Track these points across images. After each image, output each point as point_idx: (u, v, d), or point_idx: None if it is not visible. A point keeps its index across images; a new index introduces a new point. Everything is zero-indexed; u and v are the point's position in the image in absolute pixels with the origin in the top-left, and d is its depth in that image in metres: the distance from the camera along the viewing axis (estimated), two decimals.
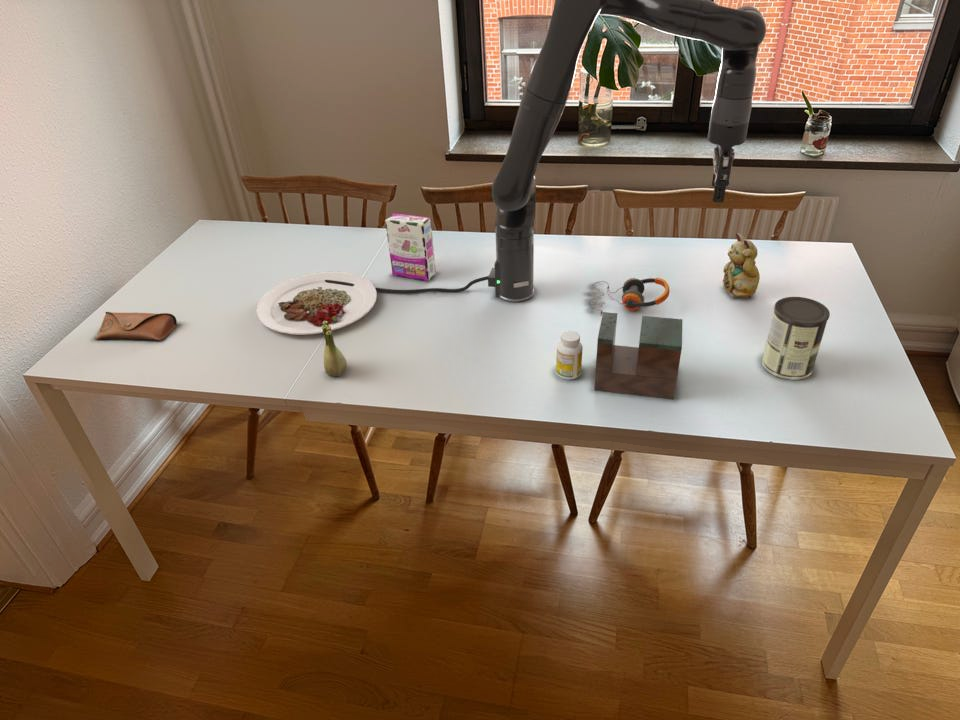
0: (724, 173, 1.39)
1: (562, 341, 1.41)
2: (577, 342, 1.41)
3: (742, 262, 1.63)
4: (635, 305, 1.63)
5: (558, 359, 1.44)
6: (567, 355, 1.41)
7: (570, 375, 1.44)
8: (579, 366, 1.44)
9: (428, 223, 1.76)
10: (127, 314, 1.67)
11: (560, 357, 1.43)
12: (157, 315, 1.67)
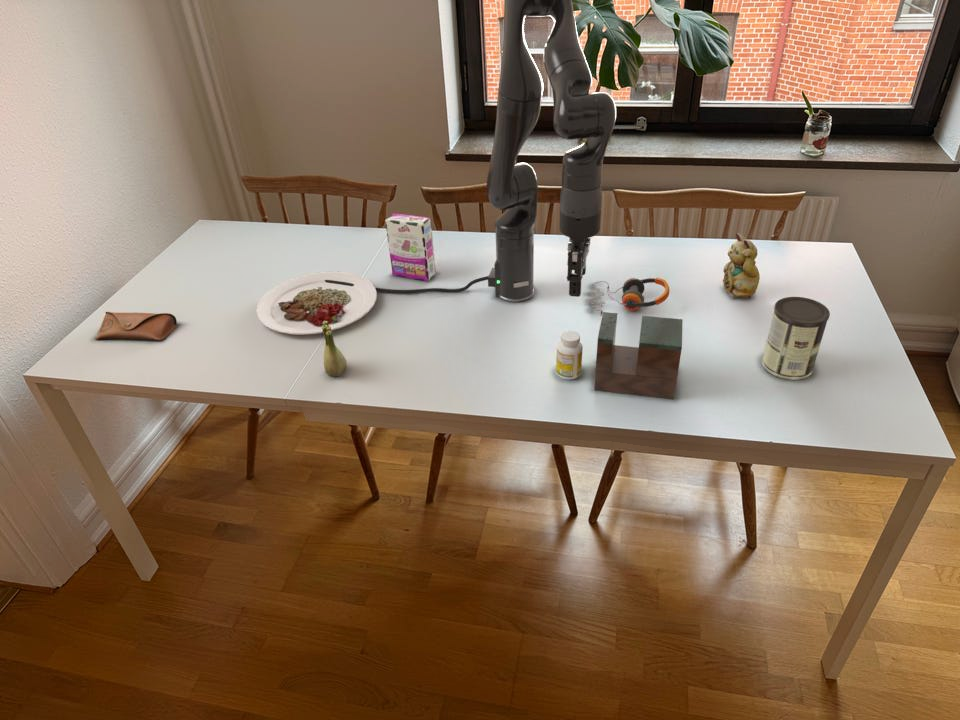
0: (574, 269, 1.26)
1: (562, 341, 1.41)
2: (577, 342, 1.41)
3: (742, 262, 1.63)
4: (635, 306, 1.63)
5: (558, 359, 1.44)
6: (567, 355, 1.41)
7: (570, 375, 1.44)
8: (579, 366, 1.44)
9: (428, 223, 1.76)
10: (127, 314, 1.67)
11: (560, 357, 1.43)
12: (157, 315, 1.67)
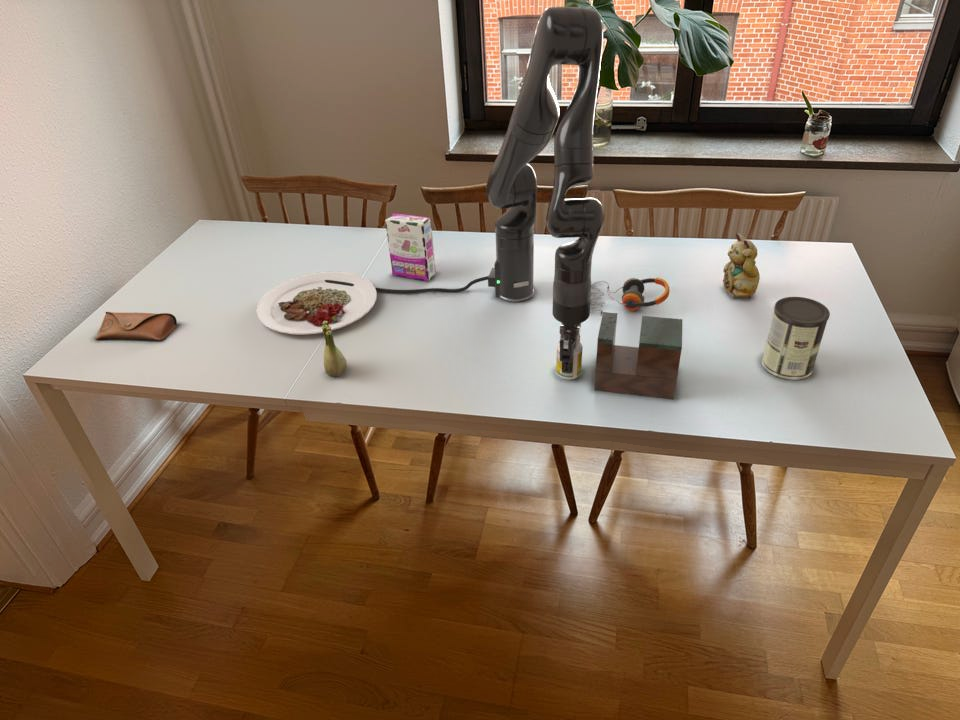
0: (566, 353, 1.37)
1: None
2: (577, 342, 1.41)
3: (742, 262, 1.63)
4: (635, 305, 1.63)
5: (558, 359, 1.44)
6: None
7: (570, 375, 1.44)
8: (579, 366, 1.44)
9: (428, 223, 1.76)
10: (127, 314, 1.67)
11: None
12: (157, 315, 1.67)
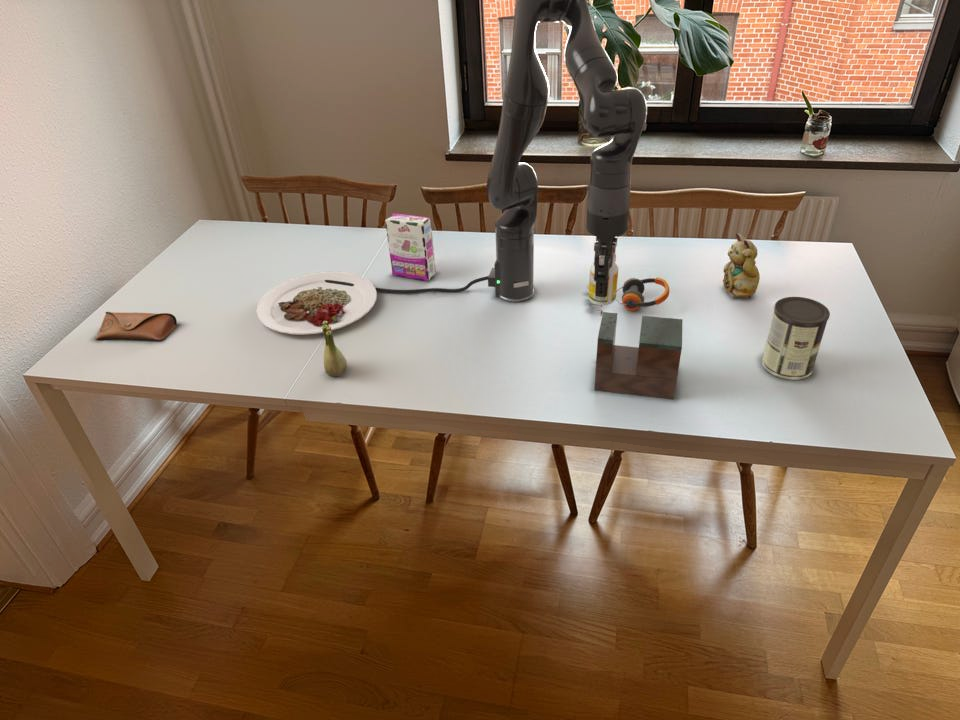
0: (601, 271, 1.24)
1: None
2: (613, 261, 1.28)
3: (742, 262, 1.63)
4: (635, 305, 1.63)
5: (591, 282, 1.31)
6: None
7: (604, 300, 1.32)
8: (614, 289, 1.31)
9: (428, 223, 1.76)
10: (127, 314, 1.67)
11: None
12: (157, 315, 1.67)
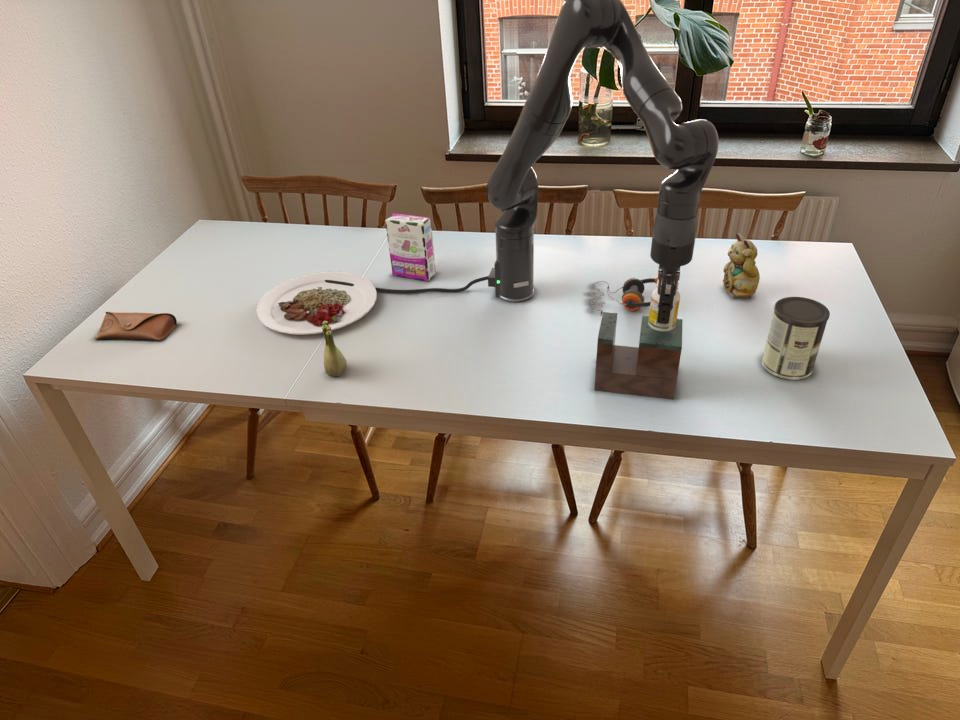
0: (667, 300, 1.25)
1: None
2: None
3: (742, 262, 1.63)
4: (635, 306, 1.63)
5: (653, 309, 1.32)
6: None
7: (665, 326, 1.32)
8: (676, 316, 1.32)
9: (428, 223, 1.76)
10: (127, 314, 1.67)
11: (656, 306, 1.30)
12: (157, 315, 1.67)
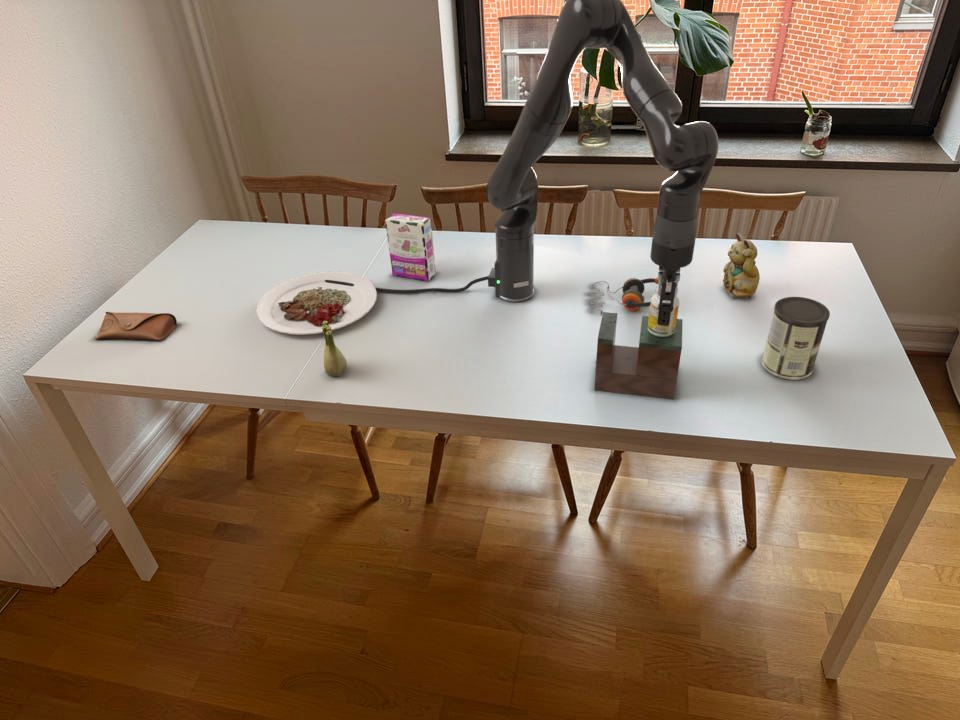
0: (667, 299, 1.24)
1: None
2: None
3: (742, 262, 1.63)
4: (635, 305, 1.63)
5: (652, 314, 1.32)
6: None
7: (665, 332, 1.33)
8: (675, 321, 1.33)
9: (428, 223, 1.76)
10: (127, 314, 1.67)
11: (656, 311, 1.31)
12: (157, 315, 1.67)
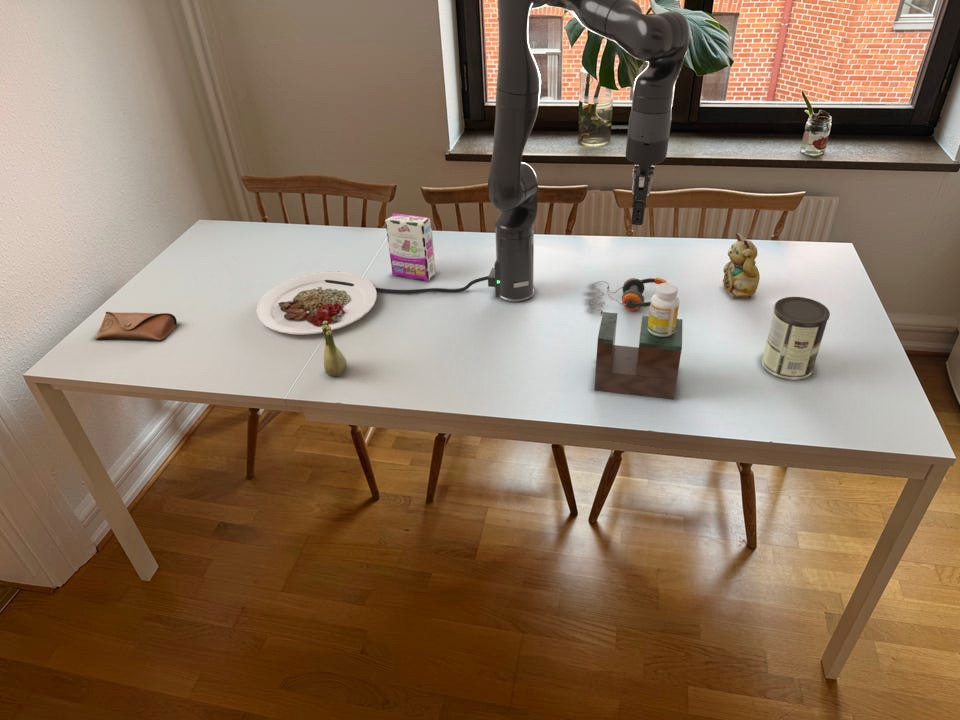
0: (640, 194, 1.26)
1: (658, 294, 1.30)
2: (675, 295, 1.29)
3: (742, 262, 1.63)
4: (635, 305, 1.63)
5: (652, 314, 1.32)
6: (663, 309, 1.30)
7: (665, 332, 1.33)
8: (675, 321, 1.33)
9: (428, 223, 1.76)
10: (127, 314, 1.67)
11: (656, 311, 1.31)
12: (157, 315, 1.67)
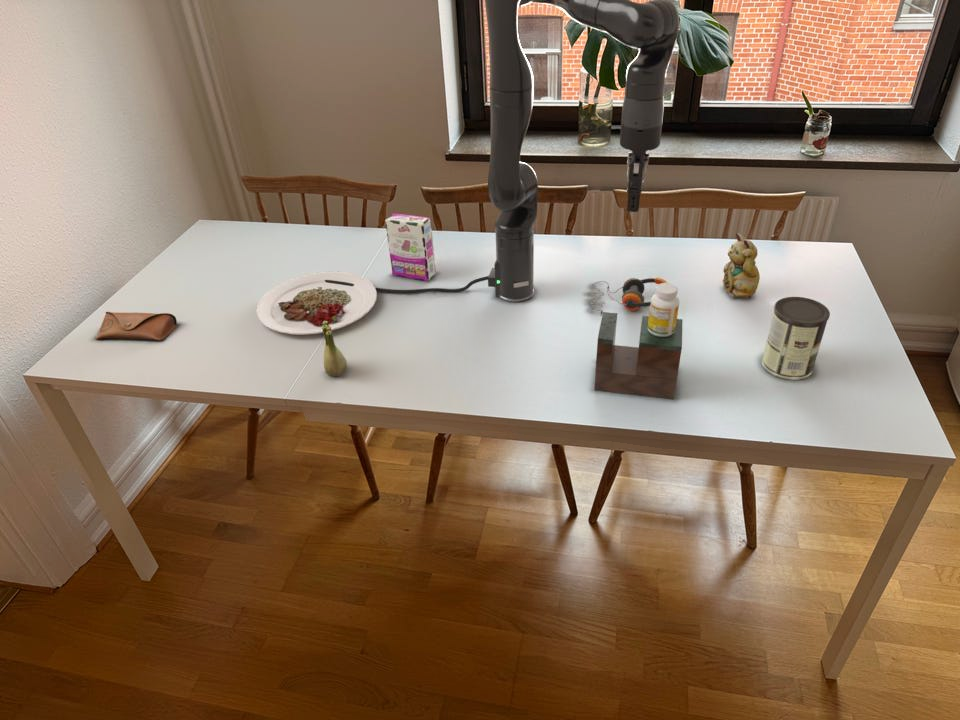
0: (635, 180, 1.28)
1: (658, 294, 1.30)
2: (675, 295, 1.29)
3: (742, 262, 1.63)
4: (635, 305, 1.63)
5: (652, 314, 1.32)
6: (663, 309, 1.30)
7: (665, 332, 1.33)
8: (675, 321, 1.33)
9: (428, 223, 1.76)
10: (127, 314, 1.67)
11: (656, 311, 1.31)
12: (157, 315, 1.67)
